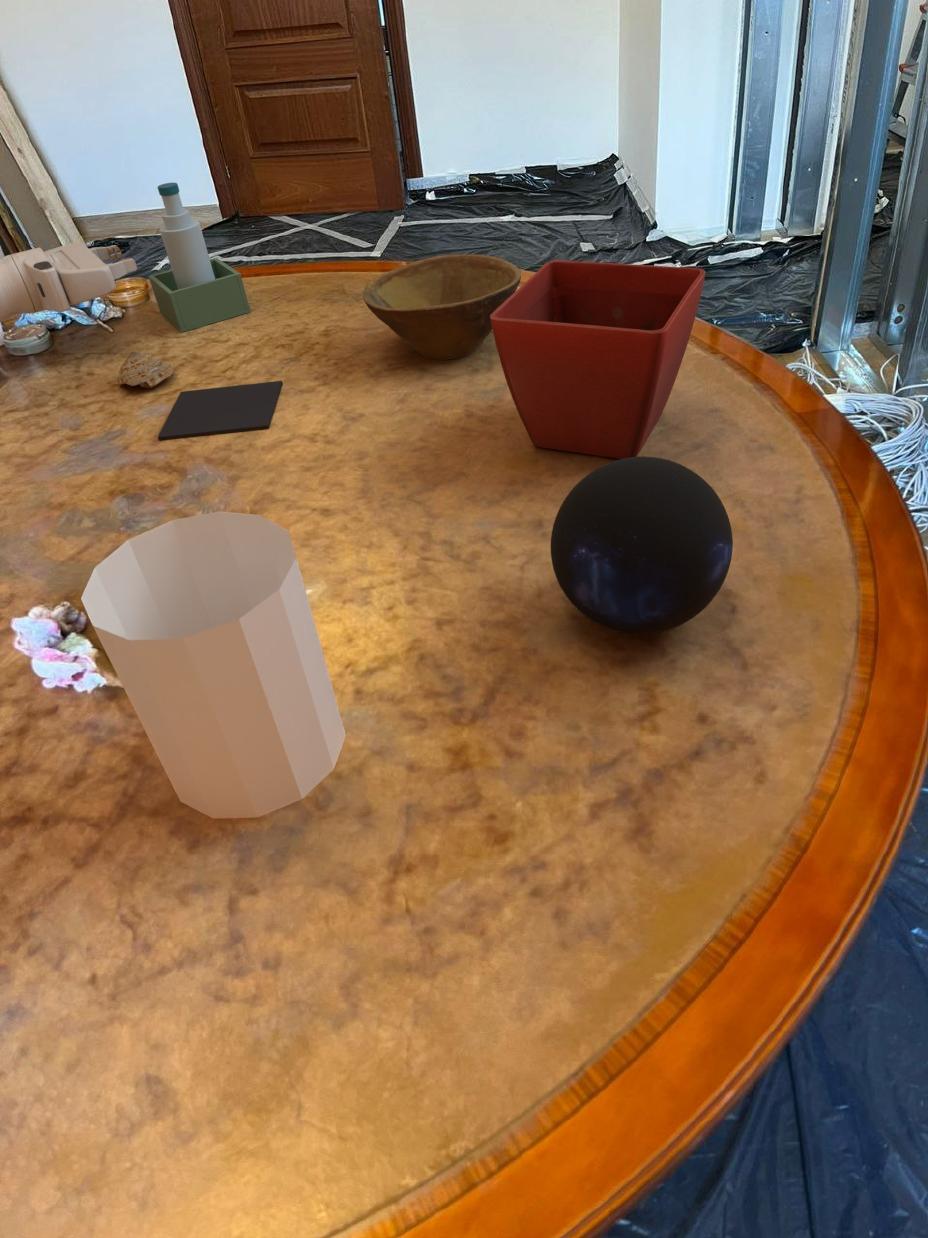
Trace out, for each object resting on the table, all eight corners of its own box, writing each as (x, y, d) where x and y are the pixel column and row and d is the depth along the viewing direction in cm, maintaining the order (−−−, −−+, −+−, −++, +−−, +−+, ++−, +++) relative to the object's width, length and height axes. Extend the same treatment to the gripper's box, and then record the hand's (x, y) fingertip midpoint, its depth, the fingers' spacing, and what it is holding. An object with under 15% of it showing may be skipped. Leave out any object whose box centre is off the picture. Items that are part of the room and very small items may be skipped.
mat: (158, 440, 114) (157, 437, 114) (181, 394, 125) (180, 391, 125) (268, 428, 114) (268, 425, 113) (282, 383, 124) (281, 380, 124)
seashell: (131, 386, 124) (103, 353, 126) (137, 414, 128) (111, 381, 131) (182, 366, 127) (155, 334, 130) (186, 395, 132) (160, 363, 135)
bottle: (181, 318, 149) (142, 192, 136) (189, 304, 154) (152, 182, 141) (218, 313, 148) (182, 187, 135) (225, 300, 153) (191, 177, 140)
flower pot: (697, 403, 107) (708, 265, 96) (656, 480, 94) (664, 331, 84) (553, 388, 114) (549, 258, 104) (497, 458, 102) (485, 318, 91)
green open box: (181, 332, 145) (168, 293, 141) (160, 313, 153) (148, 275, 149) (250, 311, 149) (240, 273, 145) (226, 294, 158) (216, 257, 154)
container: (187, 694, 75) (114, 524, 64) (349, 674, 75) (304, 500, 64) (153, 829, 64) (56, 653, 53) (342, 807, 64) (286, 625, 52)
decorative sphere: (548, 668, 73) (541, 522, 64) (558, 564, 84) (553, 426, 75) (731, 672, 71) (752, 521, 61) (716, 564, 82) (731, 421, 72)
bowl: (382, 324, 138) (372, 261, 132) (523, 312, 136) (520, 247, 130) (365, 383, 122) (352, 313, 115) (525, 371, 119) (521, 299, 113)
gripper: (37, 283, 145) (117, 262, 150) (62, 315, 131) (150, 291, 136) (21, 244, 141) (104, 224, 146) (45, 273, 127) (137, 250, 132)
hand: (127, 256), depth 141 cm, fingers open, 8 cm apart
